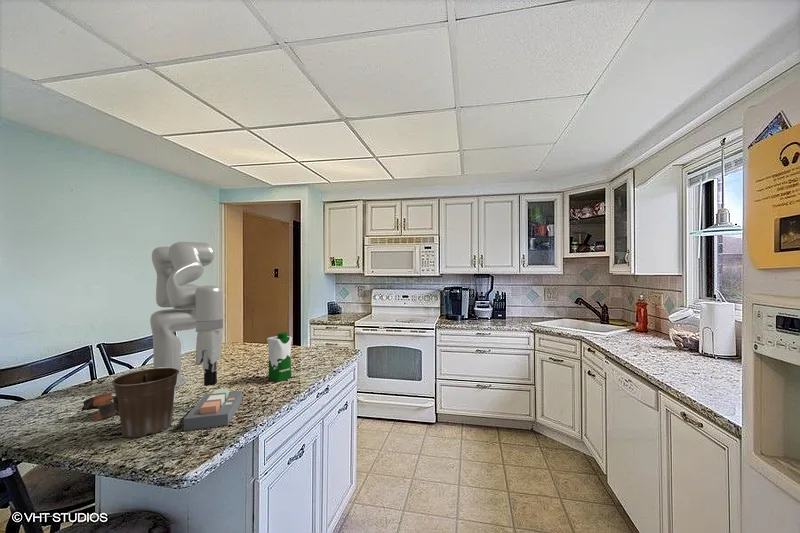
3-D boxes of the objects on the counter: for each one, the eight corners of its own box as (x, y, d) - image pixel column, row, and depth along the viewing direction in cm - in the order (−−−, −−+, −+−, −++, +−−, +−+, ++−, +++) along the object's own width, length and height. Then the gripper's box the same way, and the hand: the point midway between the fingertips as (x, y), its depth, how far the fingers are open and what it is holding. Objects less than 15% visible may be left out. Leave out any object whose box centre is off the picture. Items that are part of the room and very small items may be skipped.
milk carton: (277, 383, 142) (276, 335, 142) (264, 379, 147) (264, 333, 148) (294, 377, 149) (294, 332, 149) (282, 374, 154) (281, 330, 155)
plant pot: (159, 440, 95) (158, 382, 95) (97, 444, 93) (96, 385, 94) (190, 415, 111) (189, 366, 111) (137, 418, 110) (136, 368, 110)
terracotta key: (204, 411, 108) (204, 402, 108) (220, 410, 109) (220, 400, 109) (200, 417, 104) (200, 407, 104) (216, 415, 105) (216, 406, 105)
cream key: (210, 404, 114) (210, 395, 114) (224, 403, 115) (224, 394, 115) (206, 409, 109) (206, 400, 109) (221, 408, 110) (221, 398, 111)
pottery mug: (81, 427, 105) (75, 402, 107) (90, 429, 113) (84, 406, 115) (128, 407, 112) (122, 384, 114) (134, 411, 120) (128, 389, 122)
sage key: (215, 398, 119) (215, 389, 120) (229, 396, 121) (229, 388, 121) (211, 402, 115) (211, 393, 115) (226, 401, 116) (225, 392, 116)
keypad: (205, 404, 121) (205, 393, 121) (242, 400, 124) (242, 390, 124) (183, 430, 100) (183, 418, 100) (228, 425, 103) (227, 413, 103)
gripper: (203, 323, 113) (204, 379, 112) (187, 330, 98) (188, 394, 98) (228, 322, 115) (229, 376, 114) (216, 328, 100) (217, 391, 100)
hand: (210, 384), depth 106 cm, fingers closed
